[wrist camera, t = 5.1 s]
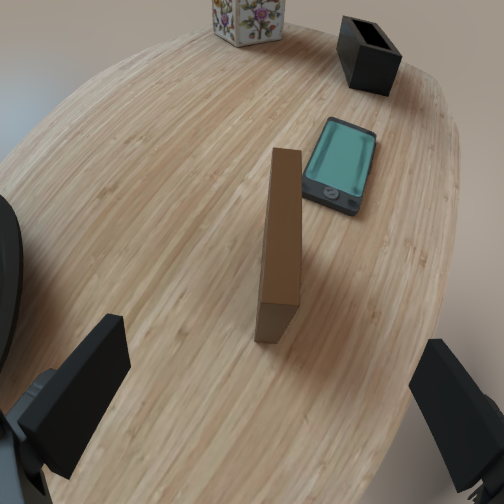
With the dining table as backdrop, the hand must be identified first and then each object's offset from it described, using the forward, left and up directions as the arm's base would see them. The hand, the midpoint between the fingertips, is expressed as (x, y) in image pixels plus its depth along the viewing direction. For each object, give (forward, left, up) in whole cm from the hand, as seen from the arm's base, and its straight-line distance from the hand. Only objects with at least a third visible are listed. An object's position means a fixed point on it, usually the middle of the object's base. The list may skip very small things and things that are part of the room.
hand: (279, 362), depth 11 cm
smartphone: (+26, -7, -14) cm, 30 cm away
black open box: (+55, -13, -14) cm, 58 cm away
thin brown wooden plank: (+9, 0, -14) cm, 16 cm away
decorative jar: (+65, +11, -14) cm, 67 cm away
